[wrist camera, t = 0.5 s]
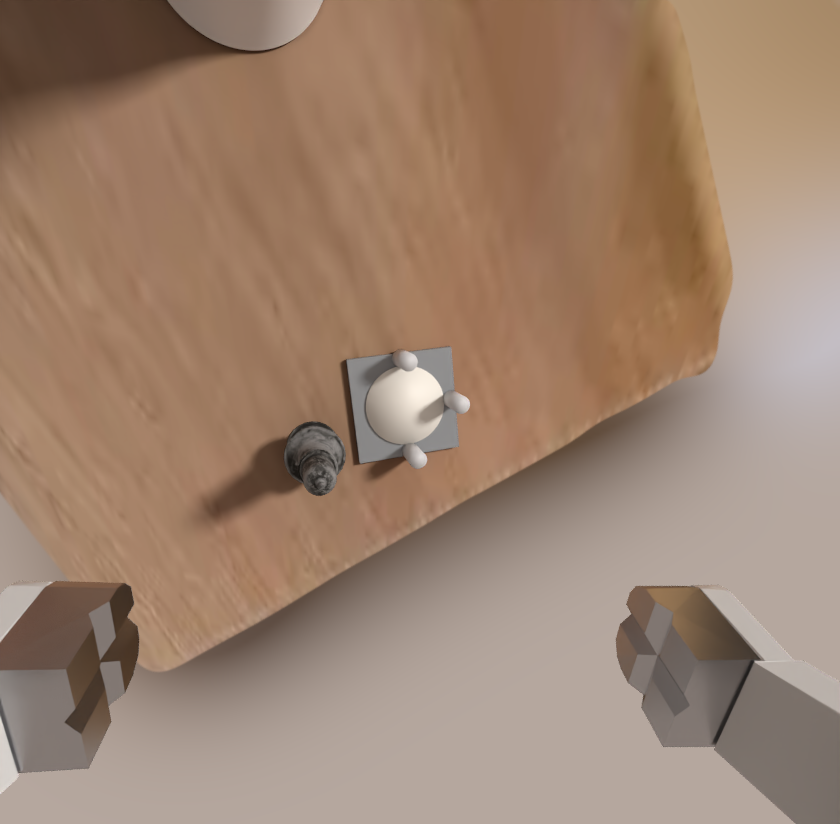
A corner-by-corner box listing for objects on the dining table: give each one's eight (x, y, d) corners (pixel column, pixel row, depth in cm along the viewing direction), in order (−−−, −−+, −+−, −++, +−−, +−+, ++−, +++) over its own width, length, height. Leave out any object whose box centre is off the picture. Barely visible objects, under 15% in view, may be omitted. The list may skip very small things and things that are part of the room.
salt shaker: (347, 425, 54) (365, 459, 42) (334, 478, 55) (348, 525, 43) (290, 413, 52) (293, 445, 41) (277, 468, 53) (276, 514, 41)
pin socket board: (345, 355, 52) (350, 360, 48) (452, 342, 55) (465, 345, 51) (359, 465, 55) (365, 478, 51) (460, 447, 57) (473, 458, 54)
